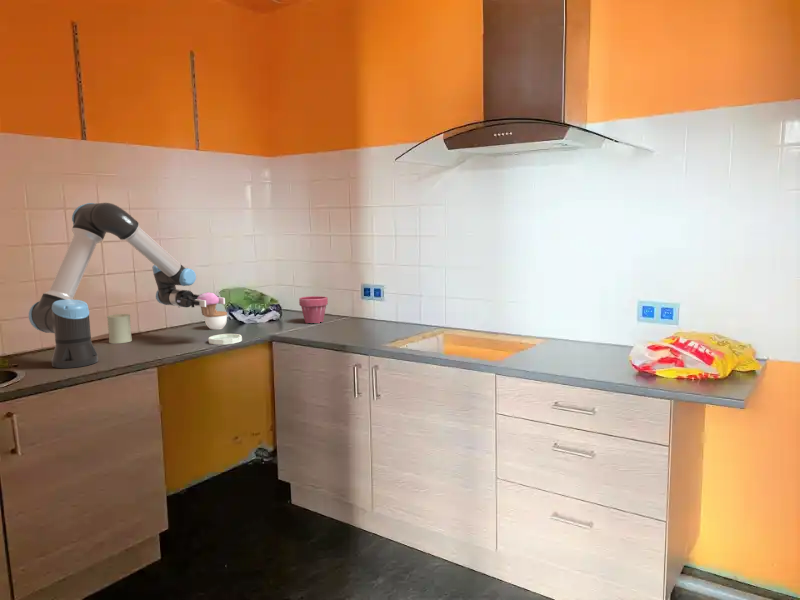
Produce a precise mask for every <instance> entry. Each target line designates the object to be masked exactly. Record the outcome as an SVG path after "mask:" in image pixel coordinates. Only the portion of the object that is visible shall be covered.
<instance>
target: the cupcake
mask: <svg viewBox="0 0 800 600" xmlns="http://www.w3.org/2000/svg"><path fill="white" fill-rule="evenodd" d="M199 295H200V296H198V298H197V299H198V300H206V307H200V310H201V314H202V316H207V315H214V313H215V309H216V307H217V304H218V302H219V298H218V297H217V296H218V295H217V294H215V293H214V292H208V291H207V292H204V293H200V294H199ZM216 295H217V296H216Z"/></svg>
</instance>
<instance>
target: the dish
mask: <svg viewBox="0 0 800 600" xmlns="http://www.w3.org/2000/svg"><path fill="white" fill-rule="evenodd" d="M242 341H243V337H242V335H241V334H240V333H239V334H237V333H223V334H222V333H221V334H215V335H210V336H209V337H208V344H209V345H210V344H211V345H217V346H218V345H220V346H221V345H223V346H224V345H233V344H236V343H240V342H242Z"/></svg>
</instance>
